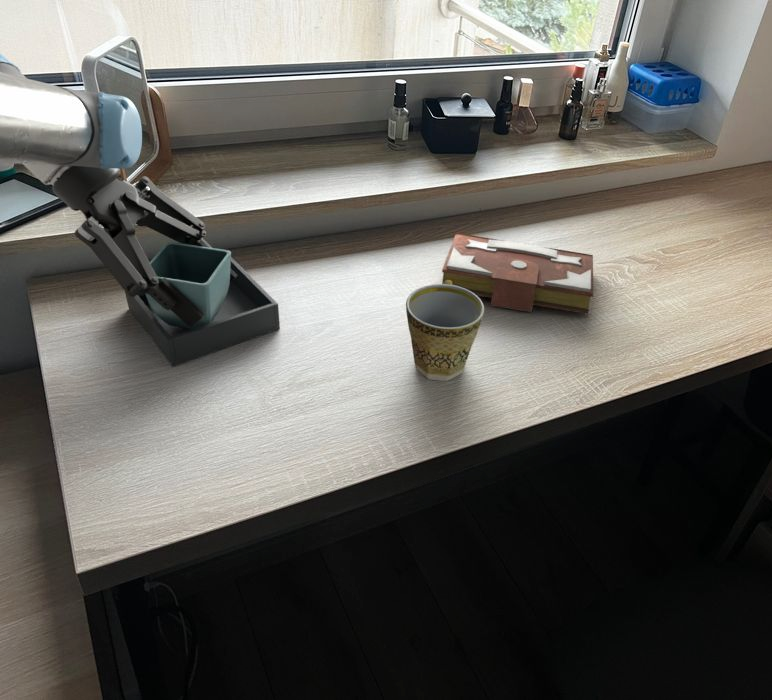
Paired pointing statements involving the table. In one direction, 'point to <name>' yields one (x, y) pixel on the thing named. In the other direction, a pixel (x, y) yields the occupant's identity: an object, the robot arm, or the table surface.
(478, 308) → the ceramic cup
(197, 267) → the flower pot
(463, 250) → the book
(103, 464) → the table surface
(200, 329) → the tote
